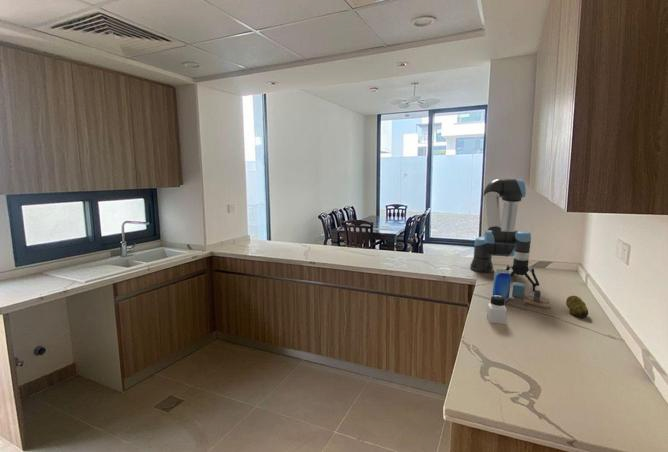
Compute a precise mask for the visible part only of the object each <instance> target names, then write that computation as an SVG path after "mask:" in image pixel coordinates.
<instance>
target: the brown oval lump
mask: <svg viewBox="0 0 668 452" xmlns="http://www.w3.org/2000/svg"><path fill="white" fill-rule="evenodd" d="M565 304H566V307H567V308H568V310H569V312H570V314H572V315H574V316H576V317H579V318H586V317H587V316H588V315H589V310H588V308H587V305H586V302H585V301H584V300H582V298H581V297H580V296H577V295H569V296H568V297H567V298H566V301H565Z"/></svg>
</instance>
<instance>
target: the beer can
mask: <svg viewBox="0 0 668 452" xmlns="http://www.w3.org/2000/svg"><path fill="white" fill-rule="evenodd" d="M510 273H511V272H510V270H506V269H503V268H502V269H500V268H498V269H496V271H495V273H493V285H492V286H493V287H492V296H495V295H497V296H501V297H503V298H504V299H505V302H506V301H508V300H509V298H510V292H511V291H510V290H511V280H512V277H511V275H510Z"/></svg>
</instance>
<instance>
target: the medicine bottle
mask: <svg viewBox="0 0 668 452" xmlns="http://www.w3.org/2000/svg"><path fill="white" fill-rule="evenodd" d="M505 302H506V301H505V299H504V298H503V297H501V296H497V295H495V296H493V295H492V296H491V297H490V302H489V303H487V309H486V311H487V312H486V318H487V319H488V321H489V323H490V324H500V325H501V324H502V325H506V323H507V313H508V311H507V308H506V307H505Z"/></svg>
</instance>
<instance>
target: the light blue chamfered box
mask: <svg viewBox="0 0 668 452" xmlns="http://www.w3.org/2000/svg"><path fill="white" fill-rule="evenodd" d="M524 293H525V283H524V282H516V281H513V282H512V292H511V296H512V297H518V298H524V296H525V294H524Z"/></svg>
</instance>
